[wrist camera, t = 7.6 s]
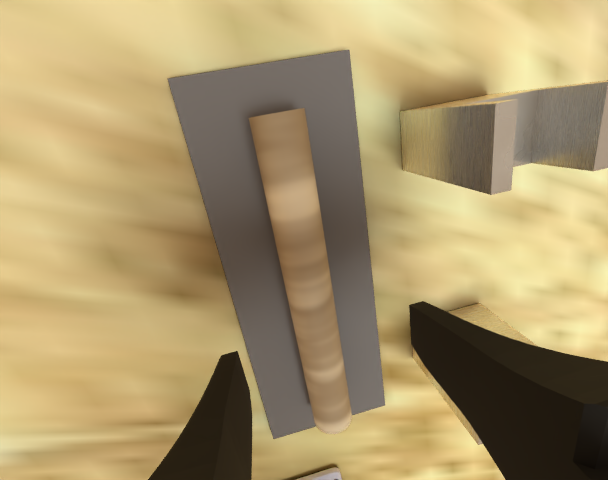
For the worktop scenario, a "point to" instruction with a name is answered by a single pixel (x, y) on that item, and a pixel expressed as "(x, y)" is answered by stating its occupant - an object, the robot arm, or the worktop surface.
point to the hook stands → (504, 155)
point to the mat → (258, 229)
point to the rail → (303, 260)
